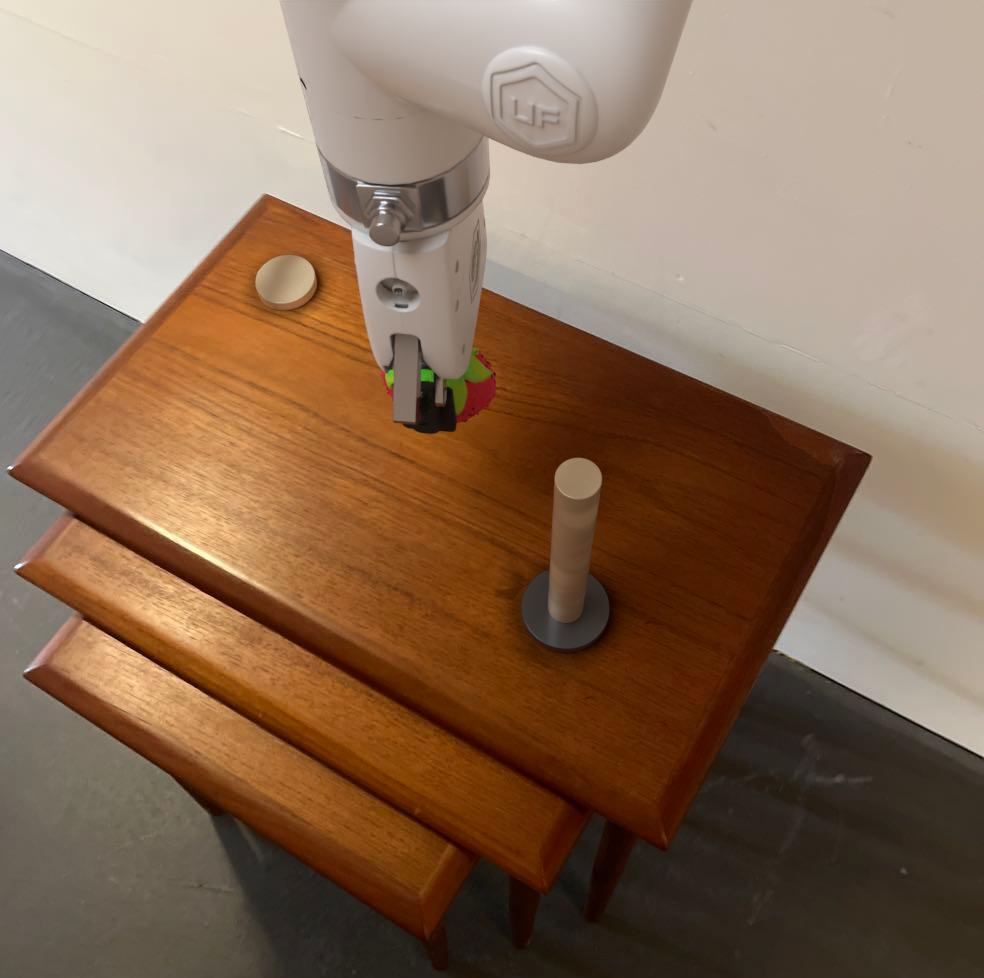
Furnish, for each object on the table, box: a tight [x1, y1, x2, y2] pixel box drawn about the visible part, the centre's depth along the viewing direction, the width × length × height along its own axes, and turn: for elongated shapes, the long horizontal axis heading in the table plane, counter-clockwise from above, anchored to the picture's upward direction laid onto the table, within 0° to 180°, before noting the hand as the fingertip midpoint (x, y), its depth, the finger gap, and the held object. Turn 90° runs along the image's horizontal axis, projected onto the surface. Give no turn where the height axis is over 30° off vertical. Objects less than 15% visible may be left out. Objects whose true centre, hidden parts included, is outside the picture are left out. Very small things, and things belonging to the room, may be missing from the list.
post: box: [521, 457, 611, 654], centre depth 58 cm, size 6×6×20 cm
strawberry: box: [380, 346, 498, 424], centre depth 60 cm, size 6×7×10 cm
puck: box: [254, 254, 318, 312], centre depth 81 cm, size 5×5×1 cm
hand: (438, 376), depth 60 cm, fingers closed on strawberry, 6 cm apart
